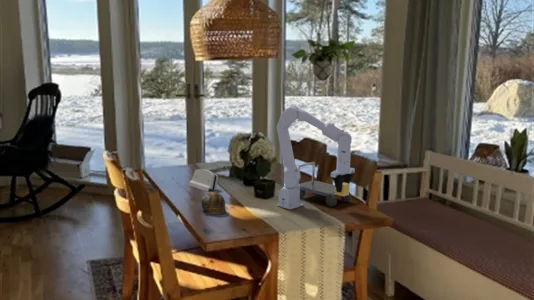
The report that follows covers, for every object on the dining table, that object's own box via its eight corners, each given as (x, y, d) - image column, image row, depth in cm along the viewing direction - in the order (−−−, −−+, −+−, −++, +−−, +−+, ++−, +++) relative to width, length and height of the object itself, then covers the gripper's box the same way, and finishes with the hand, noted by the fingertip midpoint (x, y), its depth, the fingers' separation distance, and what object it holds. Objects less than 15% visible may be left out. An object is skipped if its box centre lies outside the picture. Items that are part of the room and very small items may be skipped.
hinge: (187, 184, 254) (193, 165, 255) (195, 186, 257) (200, 167, 258) (207, 191, 242) (213, 171, 243) (215, 193, 246) (220, 173, 246)
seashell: (197, 209, 214) (197, 191, 213) (216, 206, 220) (216, 188, 218) (210, 216, 206) (210, 197, 204) (229, 212, 211) (229, 194, 210)
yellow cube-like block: (343, 196, 214) (343, 185, 213) (334, 194, 218) (334, 182, 217) (348, 194, 217) (349, 183, 216) (339, 192, 220) (340, 181, 219)
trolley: (333, 208, 220) (335, 173, 217) (293, 196, 236) (294, 164, 233) (352, 202, 230) (353, 169, 227) (312, 191, 246) (313, 160, 243)
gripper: (340, 164, 206) (339, 195, 209) (361, 159, 217) (359, 190, 219) (327, 161, 211) (326, 192, 214) (347, 157, 221) (346, 186, 224)
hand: (341, 191), depth 217 cm, fingers closed on yellow cube-like block, 4 cm apart
